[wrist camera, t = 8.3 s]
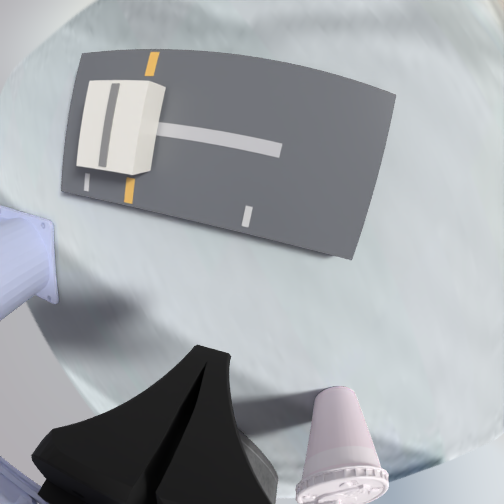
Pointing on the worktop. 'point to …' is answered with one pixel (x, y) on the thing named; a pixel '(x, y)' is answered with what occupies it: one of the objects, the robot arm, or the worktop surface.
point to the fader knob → (120, 125)
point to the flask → (261, 467)
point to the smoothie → (340, 454)
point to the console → (245, 145)
